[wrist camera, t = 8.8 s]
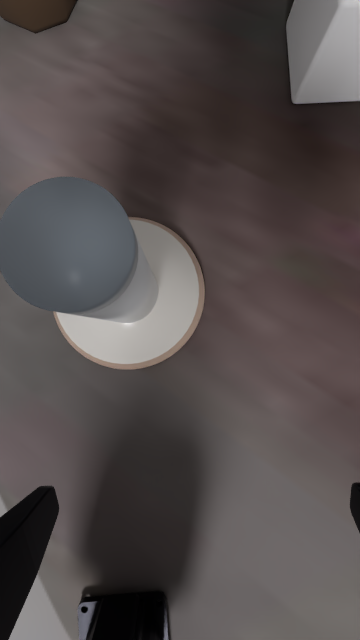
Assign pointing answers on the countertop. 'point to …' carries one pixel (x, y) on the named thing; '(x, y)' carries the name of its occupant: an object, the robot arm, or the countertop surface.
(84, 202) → the grey-topped white cylinder
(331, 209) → the countertop surface
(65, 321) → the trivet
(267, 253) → the countertop surface
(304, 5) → the medicine bottle
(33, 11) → the beer bottle
